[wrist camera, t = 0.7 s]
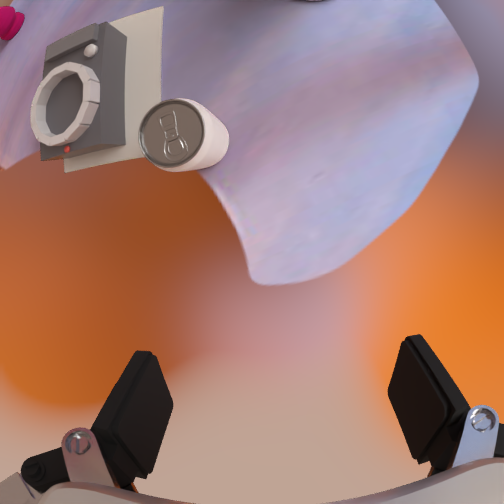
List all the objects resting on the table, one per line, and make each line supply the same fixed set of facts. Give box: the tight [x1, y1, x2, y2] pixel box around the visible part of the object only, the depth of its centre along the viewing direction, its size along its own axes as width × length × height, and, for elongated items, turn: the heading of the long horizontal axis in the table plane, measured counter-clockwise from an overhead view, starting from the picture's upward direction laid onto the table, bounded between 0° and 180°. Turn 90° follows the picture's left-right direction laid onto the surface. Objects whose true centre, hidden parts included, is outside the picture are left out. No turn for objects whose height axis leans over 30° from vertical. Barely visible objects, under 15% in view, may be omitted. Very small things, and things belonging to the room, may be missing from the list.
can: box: [138, 98, 229, 172], centre depth 25 cm, size 6×6×12 cm
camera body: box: [30, 22, 127, 161], centre depth 25 cm, size 16×10×8 cm, turn 3°
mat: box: [63, 6, 164, 173], centre depth 28 cm, size 22×16×1 cm
